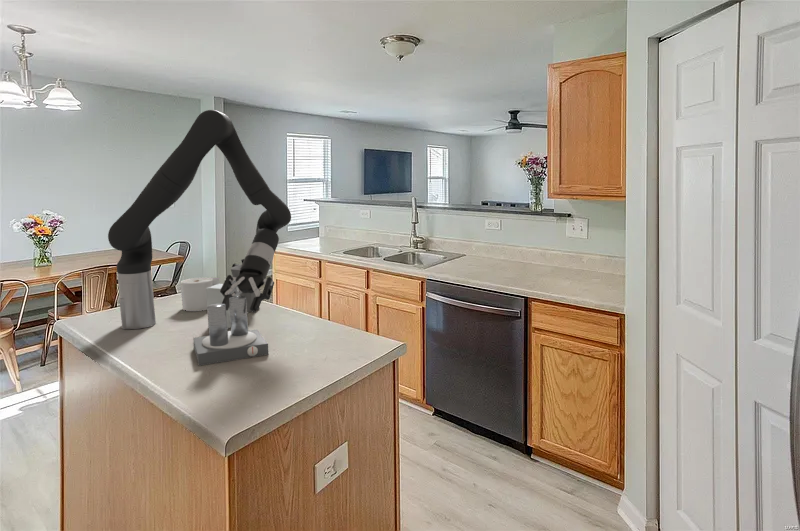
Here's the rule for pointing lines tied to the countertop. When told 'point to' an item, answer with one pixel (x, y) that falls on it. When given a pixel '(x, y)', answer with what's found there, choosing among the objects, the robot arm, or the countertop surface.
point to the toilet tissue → (196, 292)
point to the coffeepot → (249, 296)
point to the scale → (230, 348)
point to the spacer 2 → (238, 315)
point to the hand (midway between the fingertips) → (238, 310)
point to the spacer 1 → (217, 324)
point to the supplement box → (217, 299)
